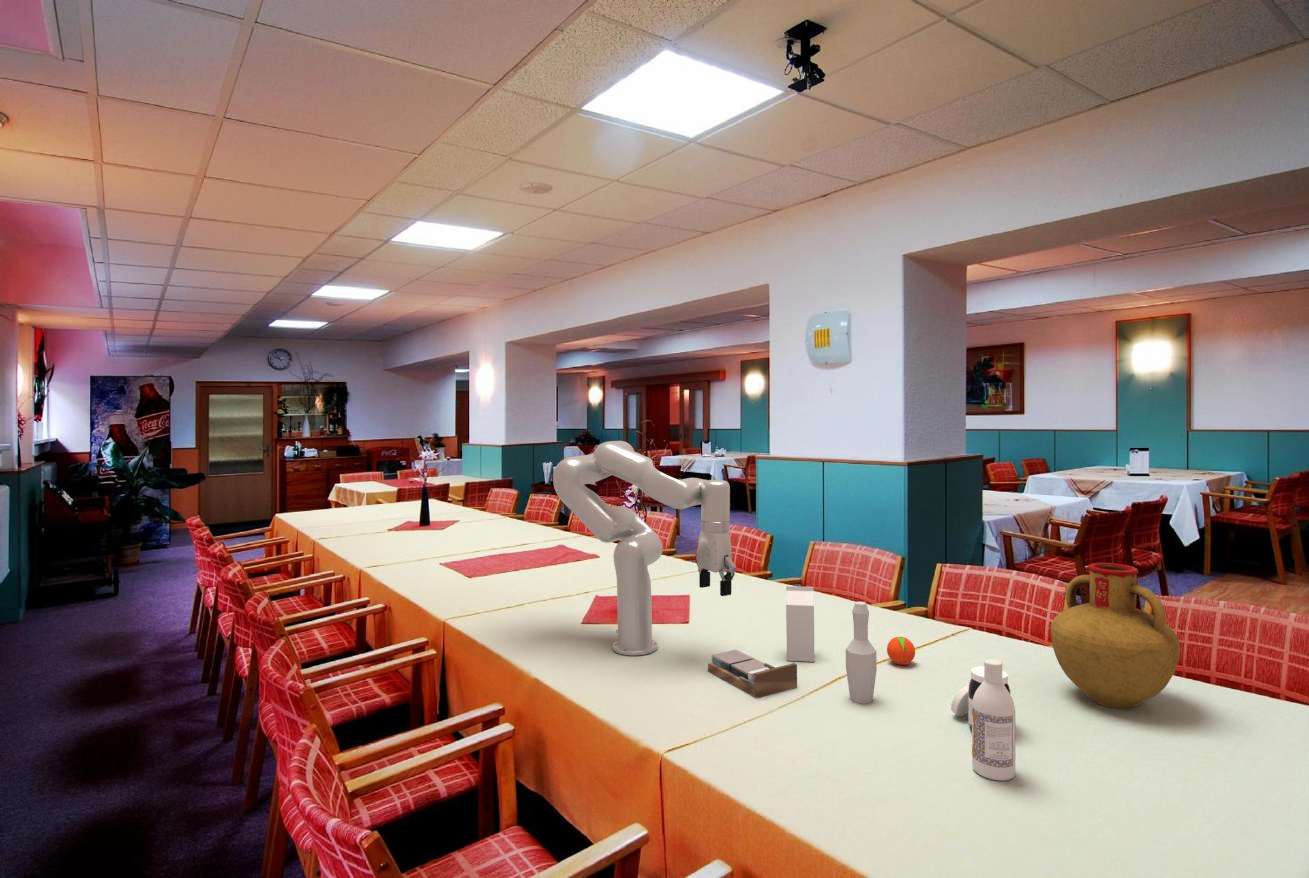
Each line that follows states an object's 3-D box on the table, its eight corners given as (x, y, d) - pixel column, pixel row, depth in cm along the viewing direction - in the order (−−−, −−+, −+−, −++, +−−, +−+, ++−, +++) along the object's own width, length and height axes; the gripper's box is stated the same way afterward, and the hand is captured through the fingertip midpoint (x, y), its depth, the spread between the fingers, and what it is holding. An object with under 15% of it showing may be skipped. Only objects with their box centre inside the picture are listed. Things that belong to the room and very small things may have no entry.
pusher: (748, 688, 162) (748, 672, 162) (779, 680, 167) (778, 664, 166) (751, 690, 161) (751, 673, 161) (782, 682, 166) (782, 665, 165)
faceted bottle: (861, 707, 151) (860, 608, 150) (840, 697, 157) (839, 601, 156) (882, 701, 154) (881, 604, 153) (861, 691, 160) (860, 597, 159)
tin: (711, 668, 177) (711, 654, 177) (735, 662, 181) (735, 649, 181) (729, 677, 171) (729, 663, 170) (753, 671, 174) (753, 657, 174)
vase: (1026, 690, 158) (1026, 561, 158) (1095, 673, 168) (1095, 552, 167) (1133, 733, 137) (1134, 584, 136) (1205, 711, 146) (1206, 571, 145)
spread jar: (1008, 743, 134) (1008, 684, 133) (946, 729, 140) (945, 673, 139) (1013, 719, 144) (1013, 664, 143) (955, 708, 150) (955, 655, 149)
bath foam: (978, 758, 128) (977, 652, 127) (1019, 770, 123) (1019, 660, 123) (967, 773, 123) (966, 662, 122) (1009, 786, 118) (1009, 671, 118)
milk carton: (814, 662, 179) (813, 590, 178) (786, 661, 180) (785, 589, 180) (813, 653, 186) (813, 583, 185) (787, 651, 187) (786, 582, 187)
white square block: (731, 678, 170) (731, 664, 170) (755, 672, 174) (755, 658, 173) (750, 688, 163) (750, 674, 163) (775, 682, 167) (774, 668, 167)
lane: (707, 670, 174) (707, 649, 174) (745, 661, 180) (745, 640, 180) (757, 698, 157) (756, 673, 157) (797, 687, 163) (796, 663, 163)
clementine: (918, 670, 172) (918, 642, 172) (889, 669, 173) (889, 641, 173) (912, 659, 180) (912, 632, 179) (885, 658, 181) (885, 631, 181)
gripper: (685, 523, 187) (685, 585, 187) (722, 533, 172) (722, 600, 172) (708, 521, 190) (708, 582, 191) (746, 530, 175) (746, 596, 176)
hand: (715, 591), depth 182 cm, fingers open, 9 cm apart
